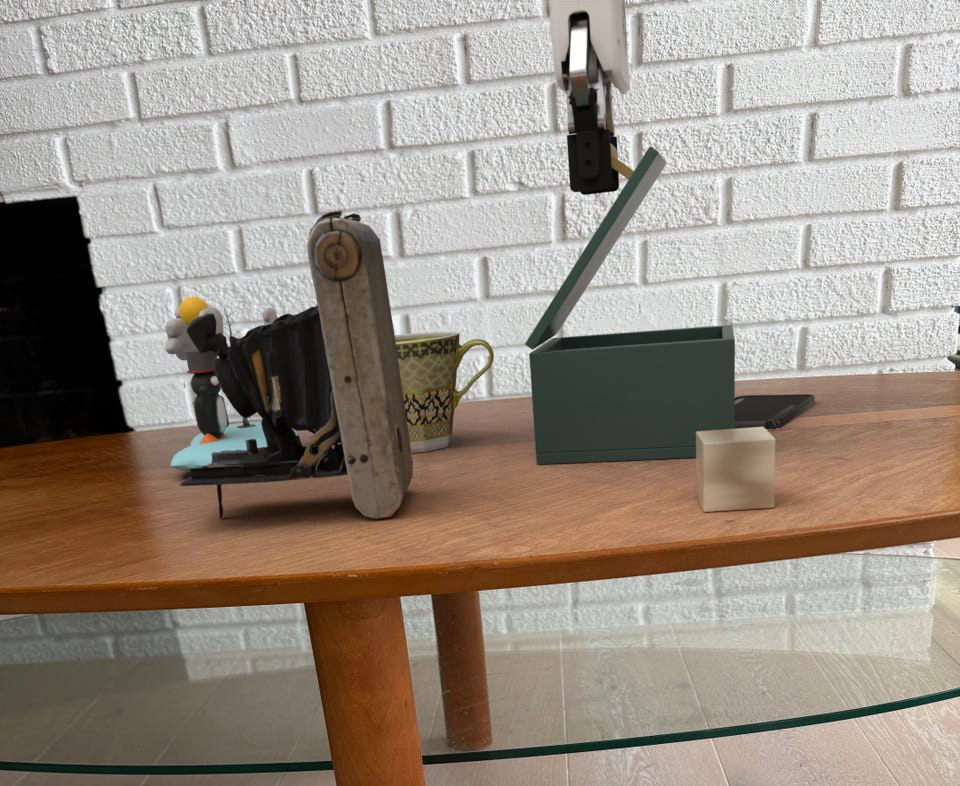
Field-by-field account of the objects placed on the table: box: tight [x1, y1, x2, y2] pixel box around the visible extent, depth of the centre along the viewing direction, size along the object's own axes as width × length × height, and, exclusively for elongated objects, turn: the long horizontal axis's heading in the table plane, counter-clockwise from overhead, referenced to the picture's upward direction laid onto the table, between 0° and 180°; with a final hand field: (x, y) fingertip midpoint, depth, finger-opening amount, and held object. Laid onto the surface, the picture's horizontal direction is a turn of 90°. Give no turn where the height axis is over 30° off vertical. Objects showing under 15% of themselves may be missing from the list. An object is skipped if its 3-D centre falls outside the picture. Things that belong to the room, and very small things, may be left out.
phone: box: [735, 393, 816, 430], centre depth 96 cm, size 8×1×15 cm
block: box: [695, 427, 777, 513], centre depth 65 cm, size 4×4×4 cm
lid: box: [524, 143, 667, 351], centre depth 82 cm, size 17×13×5 cm
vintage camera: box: [179, 210, 414, 520], centre depth 71 cm, size 10×16×20 cm, turn 88°
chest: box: [528, 324, 736, 466], centre depth 85 cm, size 16×13×9 cm
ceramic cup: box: [395, 331, 495, 454], centre depth 94 cm, size 13×10×10 cm
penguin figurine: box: [164, 296, 298, 472], centre depth 95 cm, size 20×11×15 cm, turn 1°
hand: (595, 188), depth 80 cm, fingers closed on lid, 5 cm apart
